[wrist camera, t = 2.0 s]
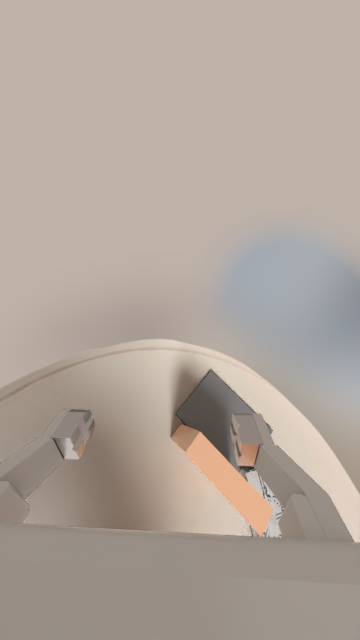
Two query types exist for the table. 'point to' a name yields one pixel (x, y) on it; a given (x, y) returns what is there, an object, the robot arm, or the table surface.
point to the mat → (214, 414)
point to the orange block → (224, 477)
